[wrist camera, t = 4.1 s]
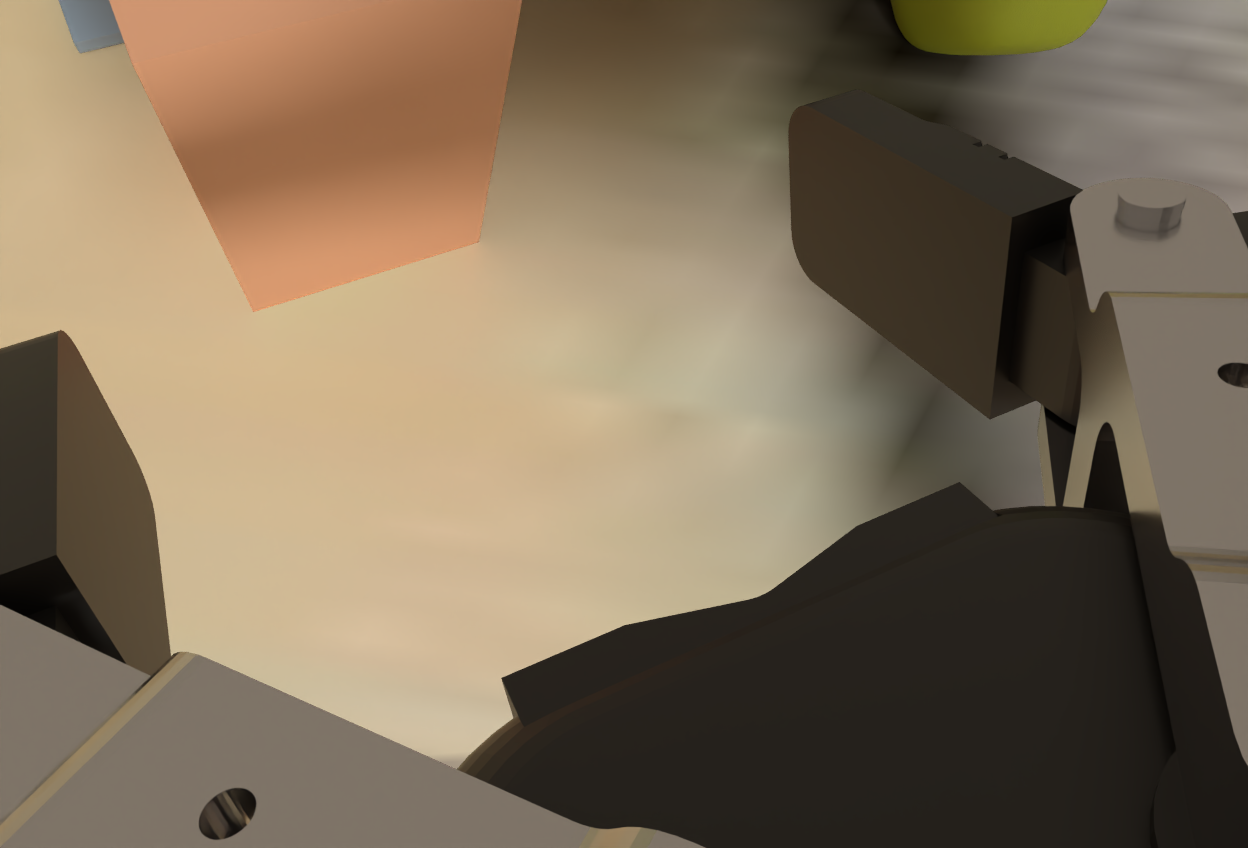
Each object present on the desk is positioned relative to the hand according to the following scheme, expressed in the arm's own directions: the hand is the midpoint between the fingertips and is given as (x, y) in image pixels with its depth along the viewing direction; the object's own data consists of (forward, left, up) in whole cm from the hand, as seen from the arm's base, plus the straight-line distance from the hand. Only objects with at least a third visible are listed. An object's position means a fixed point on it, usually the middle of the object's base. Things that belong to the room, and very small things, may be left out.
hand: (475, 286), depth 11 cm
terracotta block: (0, -7, -11) cm, 13 cm away
